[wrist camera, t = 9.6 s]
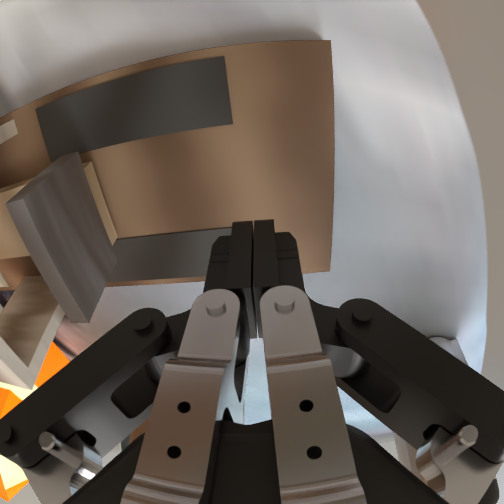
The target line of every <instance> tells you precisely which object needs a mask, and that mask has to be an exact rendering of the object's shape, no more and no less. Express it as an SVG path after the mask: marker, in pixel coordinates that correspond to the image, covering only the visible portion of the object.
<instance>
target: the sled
mask: <svg viewBox="0 0 504 504" xmlns="http://www.w3.org/2000/svg"><path fill="white" fill-rule="evenodd" d="M117 237H118V235H117V233H116V230H115V228H114V225H113V222H112V220H111V217H110V214H109V211H108V209H107V206H106V203H105V200H104V197H103V194H102V191H101V189H100V186H99V183H98V179H97V176H96V173H95V170H94V167H93V164H92V161H91V162H87V163H83V164H82V162H81V158H80V155H79V152H78V151H77V152H74V153H70V154H67V155H64V156H61V157H59V158H58V159H57V160H56V161H54V162H53V163H52V164H50V165H49V166H48V167H47V168H46V169H44V170H43V171H42V172H41V173H39V174H38V175H37V176H36V177H34V178H31V179H28V180H24V181H21V182H18V183H15V184H13V185H10V186H7V187H4V188H1V189H0V259H7V258H15V257H23V256H31V258H32V259H33V261H34V263H35V265H36V267H37V268H38V270H39V272H40V274H41V275H42V277H43V279H44V281H45V282H46V284H47V286H48V287H49V289H50V291H51V292H52V294H53V295H54V297H55V299H56V300H57V302H58V303H59V305H60V306H61V308H62V310H63V311H64V313H65V314H66V316H67V317H68V319H69V320H70V321H71V322H74V323H89V322H90V319H91V317H92V315H93V312H94V310H95V308H96V306H97V303H98V301H99V299H100V297H101V294H102V292H103V290H104V288H105V286H106V283H107V281H108V279H109V277H110V275H111V273H112V271H113V269H114V267H115V265H116V263H117V261H118V258H117V256H116V254H115V251H114V249H113V244H114V242H115V241H116V239H117Z"/></svg>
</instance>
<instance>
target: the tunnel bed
mask: <svg viewBox="0 0 504 504" xmlns="http://www.w3.org/2000/svg"><path fill="white" fill-rule="evenodd" d="M77 151H78V152H79V155H80V158H81V162H82V164H83V163H87V162H91V161H92V164H93V167H94V170H95V173H96V176H97V179H98V183H99V186H100V189H101V191H102V194H103V197H104V200H105V203H106V206H107V209H108V211H109V214H110V217H111V220H112V222H113V225H114V228H115V230H116V233H117V235H118V237H117V239H116V241H115V242H114V244H113V249H114V251H115V254H116V256H117V258H118V261H117V263H116V265H115V267H114V269H113V271H112V273H111V275H110V277H109V279H108V281H107V283H106V286H105V287H114V286H133V285H151V284H168V283H185V282H200V281H205V280H206V275H207V269H208V264H209V259H210V254H211V249H212V245H213V243H214V242H215V241H216V240H217V239H218V237H219V236H229V235H231V232H232V224H233V222H237V221H252V220H253V226H254V220H266V219H274V228H275V232H290V233H291V234H292V235H293V237H294V238H295V239H296V241H297V247H298V253H299V259H300V265H301V271H302V274H304V273H315V272H326V271H330V262H331V246H332V228H333V205H334V156H335V139H334V91H333V69H332V52H331V40H293V41H272V42H258V43H247V44H238V45H229V46H222V47H215V48H208V49H202V50H196V51H191V52H185V53H180V54H175V55H171V56H166V57H162V58H157V59H153V60H149V61H145V62H141V63H138V64H134V65H130V66H127V67H123V68H120V69H117V70H113V71H110V72H107V73H104V74H101V75H98V76H95V77H92V78H89V79H86V80H84V81H81V82H78V83H76V84H73V85H70V86H68V87H65V88H63V89H60V90H58V91H56V92H53V93H51V94H49V95H46V96H44V97H42V98H40V99H37V100H35V101H33V102H31V103H29V104H27V105H25V106H23V107H21V108H19V109H17V110H15V111H13V112H11V113H9V114H7V115H5V116H3V117H1V118H0V189H1V188H4V187H7V186H10V185H13V184H15V183H18V182H21V181H24V180H28V179H31V178H34V177H36V176H37V175H38V174H39V173H41V172H42V171H43V170H44V169H46V168H47V167H48V166H49V165H50V164H52V163H53V162H54V161H56V160H57V159H58V158H59V157H61V156H64V155H67V154H70V153H74V152H77ZM0 290H15V291H14V293H13V294H12V296H11V298H10V299H9V301H8V302H7V304H6V306H5V307H4V309H3V311H2V313H1V314H0V382H2V383H6V384H9V385H13V386H17V387H20V388H24V389H28V390H33V387H34V385H35V382H36V379H37V377H38V374H39V372H40V369H41V367H42V364H43V362H44V360H45V357H46V355H47V352H48V350H49V348H50V346H51V343H52V341H53V339H54V337H55V334H56V332H57V330H58V328H59V326H60V324H61V322H62V319H63V317H64V315H65V313H64V311H63V310H62V308H61V306H60V305H59V303H58V302H57V300H56V299H55V297H54V295H53V294H52V292H51V291H50V289H49V287H48V286H47V284H46V282H45V281H44V279H43V277H42V275H41V274H40V272H39V270H38V268H37V267H36V265H35V263H34V261H33V259H32V258H31V256H23V257H15V258H7V259H0Z"/></svg>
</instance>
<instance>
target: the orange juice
mask: <svg viewBox="0 0 504 504" xmlns="http://www.w3.org/2000/svg"><path fill="white" fill-rule="evenodd" d="M69 362H70V361H69V360H68V359H67V358H66V357H65V355H64V354H63V353H62V352H61V351H60V350H59V349H58V347H57V346H56V345H55V344H54V343H53V341H52V343H51V346H50V348H49V350H48V352H47V355H46V357H45V360H44V362H43V364H42V367H41V369H40V372H39V374H38V377H37V379H36V382H35V385H34V387H33V390H28V389H24V388H20V387H17V386H13V385H9V384H6V383H2V382H0V419H1V418H2V417H3V416H4V415H6V414H7V413H8V412H9V411H10V410H12V409H13V408H14V407H15V406H16V405H18V404H19V403H20V402H21V401H22V400H24V399H25V398H26V397H27V396H28V395H30V394H31V393H32V392H33V391H35V390H36V389H37V388H38V387H40V386H41V385H42V384H43V383H44V382H46V381H47V380H48V379H49V378H51V377H52V376H53V375H54V374H56V373H57V372H58V371H59V370H61V369H62V368H63V367H64V366H66V365H67V364H68V363H69ZM28 482H29V481H28V479H27V477H26V476H25V474H24V472H23V470H22V469H21V468H20V467H19V466H18V465H17V464H15V463H14V462H12V461H10V460H8V459H7V458H5V457H3V456H2V455H0V497H1V498H3V499H5V500H6V501H9V500H10V499H11V498H12V497H13V496H14V495H15V494H16V493H17V492H18V491H20V490H21V489H22V487H24V486H25V485H26V484H27V483H28Z"/></svg>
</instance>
